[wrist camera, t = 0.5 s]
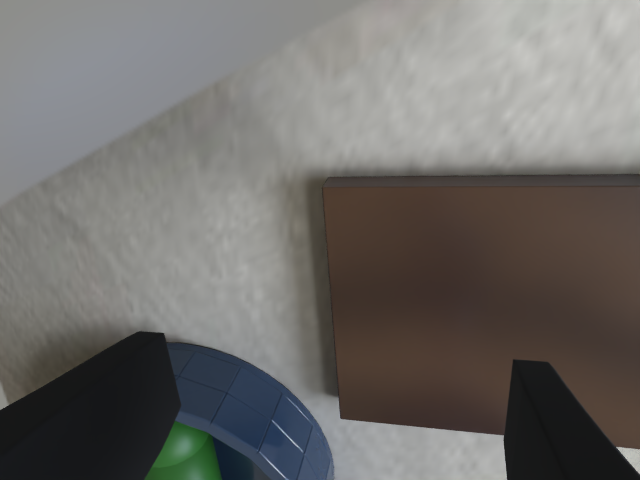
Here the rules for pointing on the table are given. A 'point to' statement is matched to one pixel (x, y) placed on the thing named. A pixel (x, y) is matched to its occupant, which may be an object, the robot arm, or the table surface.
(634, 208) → the plate
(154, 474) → the cucumber
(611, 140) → the table surface
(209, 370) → the bowl
